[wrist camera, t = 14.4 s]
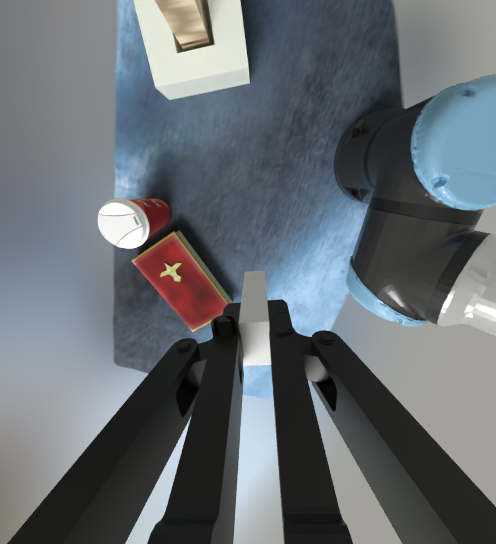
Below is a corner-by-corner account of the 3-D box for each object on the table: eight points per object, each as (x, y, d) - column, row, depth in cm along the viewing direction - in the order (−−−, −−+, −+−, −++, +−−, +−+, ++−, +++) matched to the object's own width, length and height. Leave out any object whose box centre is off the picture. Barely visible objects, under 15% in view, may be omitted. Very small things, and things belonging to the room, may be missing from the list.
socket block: (237, -17, 34) (233, -55, 28) (249, 83, 38) (248, 67, 33) (147, 6, 35) (126, -26, 29) (169, 100, 39) (155, 87, 34)
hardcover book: (195, 322, 58) (191, 333, 54) (138, 255, 51) (129, 261, 47) (235, 301, 55) (233, 310, 51) (180, 227, 48) (173, 231, 45)
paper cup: (166, 187, 45) (129, 191, 32) (182, 224, 48) (154, 242, 35) (131, 199, 46) (82, 208, 33) (148, 235, 49) (110, 256, 36)
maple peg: (208, 20, 34) (179, -74, 21) (214, 55, 36) (190, -14, 23) (182, 26, 35) (138, -63, 22) (189, 60, 36) (151, -4, 23)
